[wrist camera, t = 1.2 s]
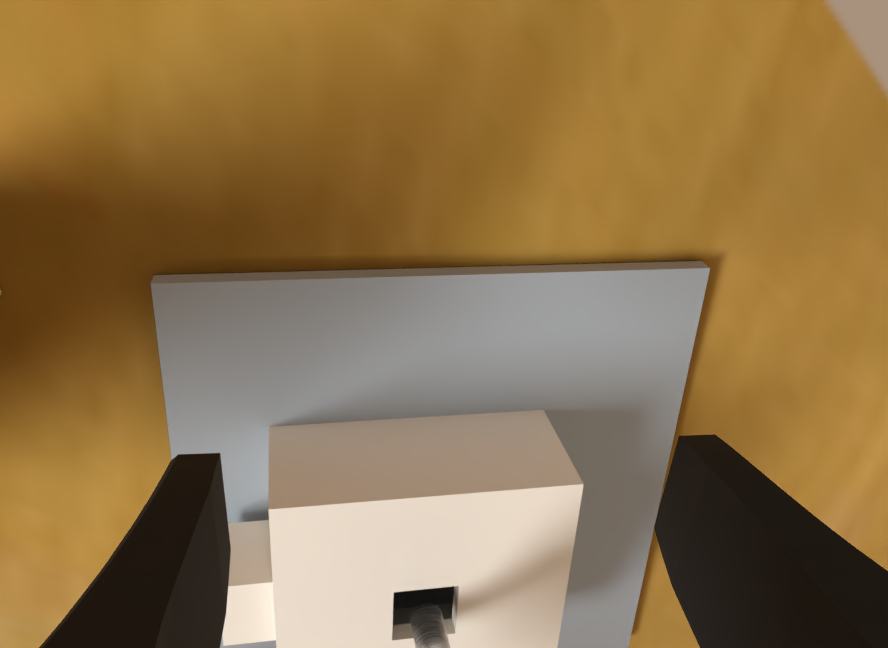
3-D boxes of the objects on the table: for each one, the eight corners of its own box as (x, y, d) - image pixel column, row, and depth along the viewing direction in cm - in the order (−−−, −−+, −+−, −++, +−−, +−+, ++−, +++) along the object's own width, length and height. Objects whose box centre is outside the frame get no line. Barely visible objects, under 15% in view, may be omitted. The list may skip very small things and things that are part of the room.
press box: (518, 607, 31) (549, 695, 28) (234, 638, 29) (229, 737, 26) (543, 409, 27) (583, 484, 24) (215, 429, 25) (207, 514, 22)
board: (622, 636, 34) (628, 647, 34) (201, 686, 31) (201, 700, 30) (701, 260, 26) (710, 267, 26) (153, 275, 23) (150, 283, 23)
